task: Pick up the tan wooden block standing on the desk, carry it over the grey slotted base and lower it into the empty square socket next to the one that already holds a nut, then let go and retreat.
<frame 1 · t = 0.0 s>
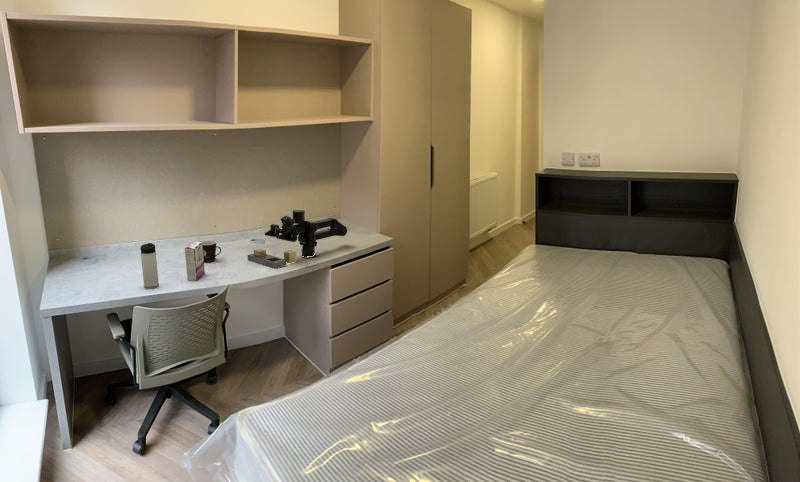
hand: (270, 235, 297), 17 cm above the table, tool horizontal, fingers open, 9 cm apart
seated nut: (260, 260, 311), resting in grey slotted base
travel mug: (151, 286, 269), on the table
candy bar box: (196, 277, 283), on the table
coffee mug: (210, 262, 307), on the table
tan wooden block: (290, 262, 310), on the table
grey slotted base: (266, 262, 308), on the table
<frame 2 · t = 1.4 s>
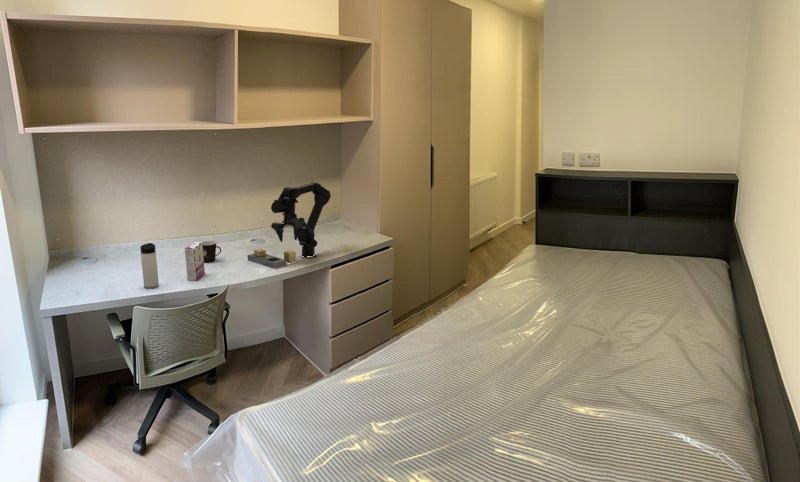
hand: (288, 240, 306), 12 cm above the table, tool pointing down, fingers open, 9 cm apart
nothing on the table moved.
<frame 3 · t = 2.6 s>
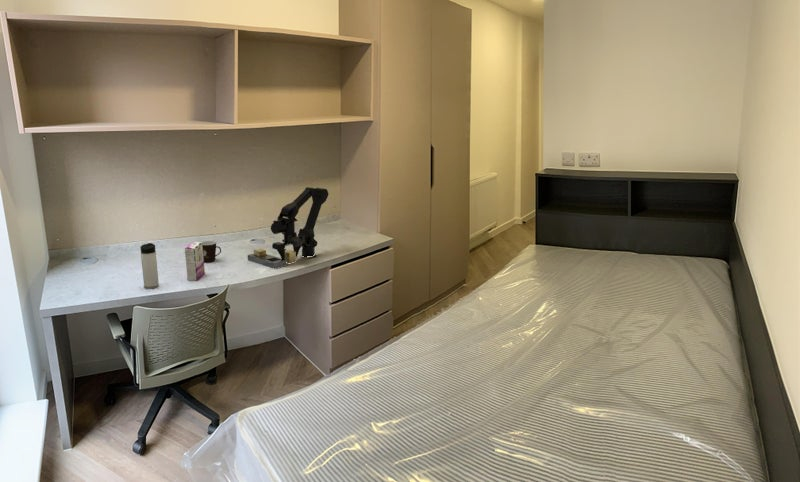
hand: (289, 259, 309), 2 cm above the table, tool pointing down, fingers open, 8 cm apart
nothing on the table moved.
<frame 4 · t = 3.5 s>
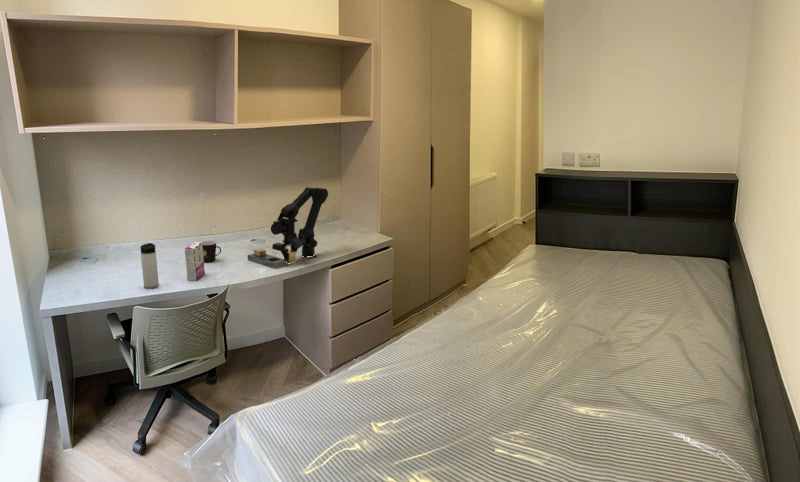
hand: (290, 259, 309), 2 cm above the table, tool pointing down, fingers closed on tan wooden block, 4 cm apart
tan wooden block: (290, 262, 310), on the table, touching gripper
everything else where it was.
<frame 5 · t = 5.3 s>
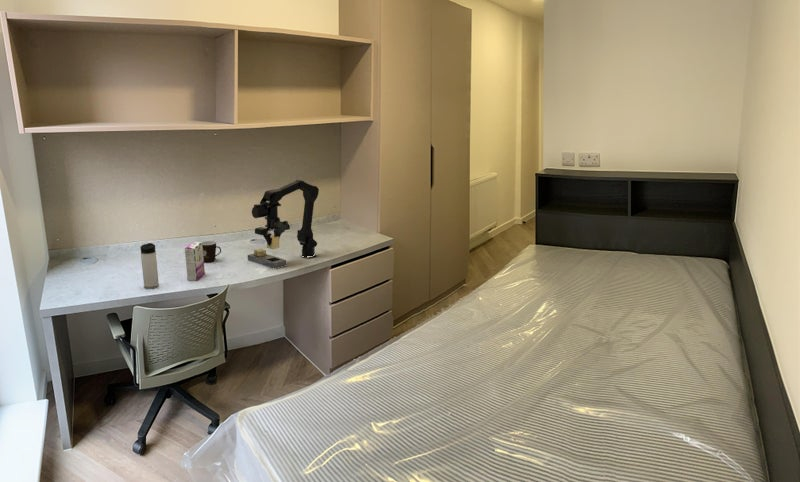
hand: (273, 244, 302), 11 cm above the table, tool pointing down, fingers closed on tan wooden block, 4 cm apart
tan wooden block: (273, 247, 302), point 9 cm above the table, touching gripper
everything else where it was.
when the fingers open (3 cm above the table, at t = 7.3 s): tan wooden block drops 2 cm, resting in grey slotted base.
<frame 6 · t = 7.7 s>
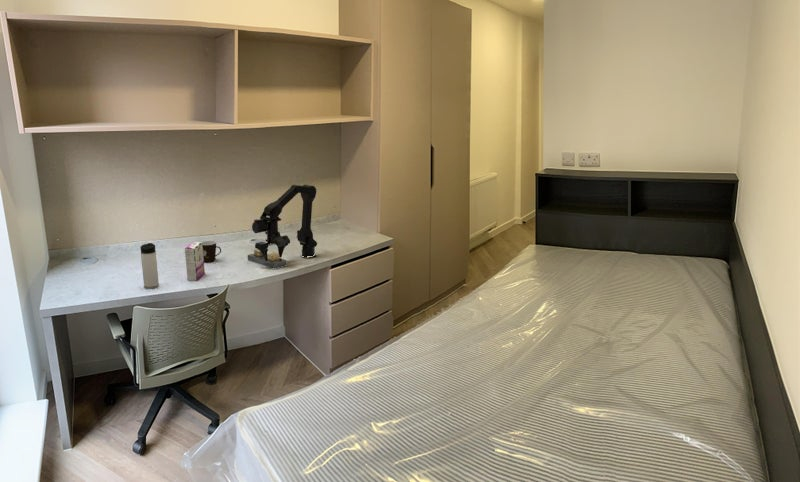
hand: (273, 259, 303), 3 cm above the table, tool pointing down, fingers open, 9 cm apart
tan wooden block: (273, 265, 304), resting in grey slotted base
everything else where it was.
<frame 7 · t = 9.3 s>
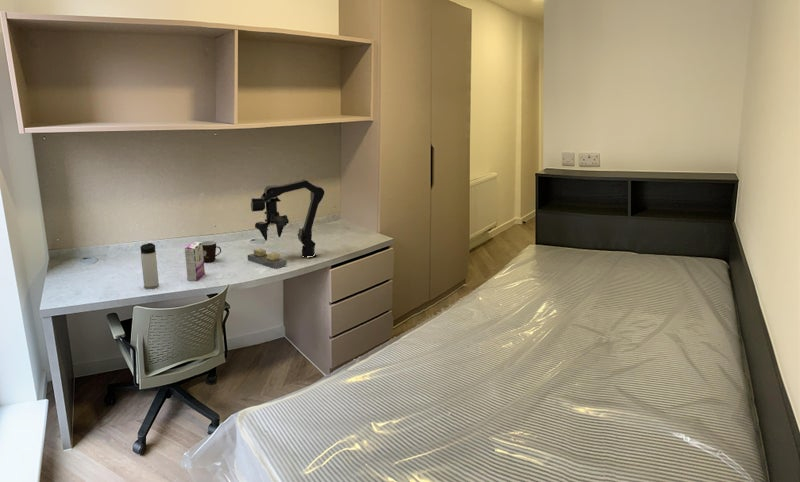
hand: (272, 238, 310), 12 cm above the table, tool pointing down, fingers open, 9 cm apart
nothing on the table moved.
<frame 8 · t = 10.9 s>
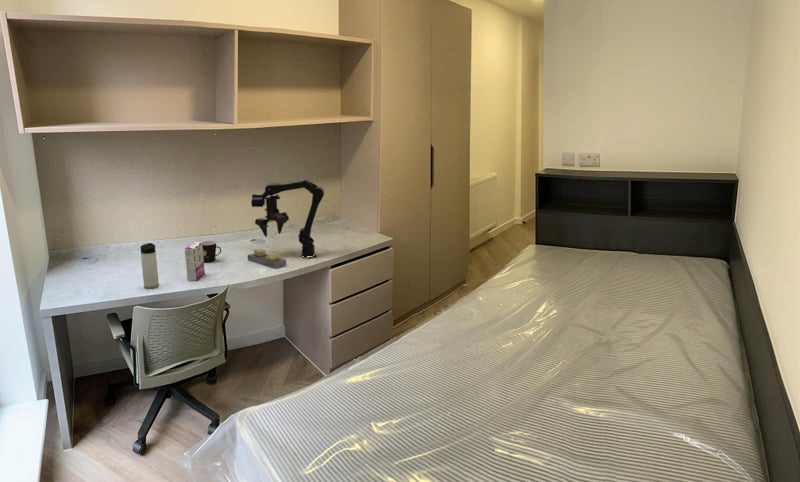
hand: (272, 235, 316), 12 cm above the table, tool pointing down, fingers open, 9 cm apart
nothing on the table moved.
at the end: tan wooden block 0.0 cm from the target spot on the grey slotted base, point 0.0 cm above the grey slotted base's base; tan wooden block tilted 0°; the gripper is holding nothing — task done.
